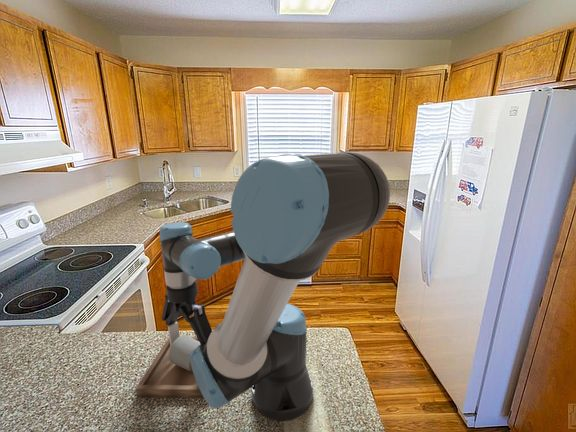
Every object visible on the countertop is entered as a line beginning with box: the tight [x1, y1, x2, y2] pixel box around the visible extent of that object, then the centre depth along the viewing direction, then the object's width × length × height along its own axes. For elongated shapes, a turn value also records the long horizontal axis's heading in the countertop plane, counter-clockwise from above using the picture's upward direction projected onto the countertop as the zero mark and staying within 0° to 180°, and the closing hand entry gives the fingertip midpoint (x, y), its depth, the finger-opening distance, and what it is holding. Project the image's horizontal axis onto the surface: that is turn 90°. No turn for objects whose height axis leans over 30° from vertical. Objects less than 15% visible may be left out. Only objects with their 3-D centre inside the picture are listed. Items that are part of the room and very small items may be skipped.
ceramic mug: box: [169, 334, 200, 371], centre depth 82 cm, size 11×8×8 cm
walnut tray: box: [135, 336, 204, 399], centre depth 81 cm, size 20×20×2 cm
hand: (189, 353), depth 80 cm, fingers open, 13 cm apart
